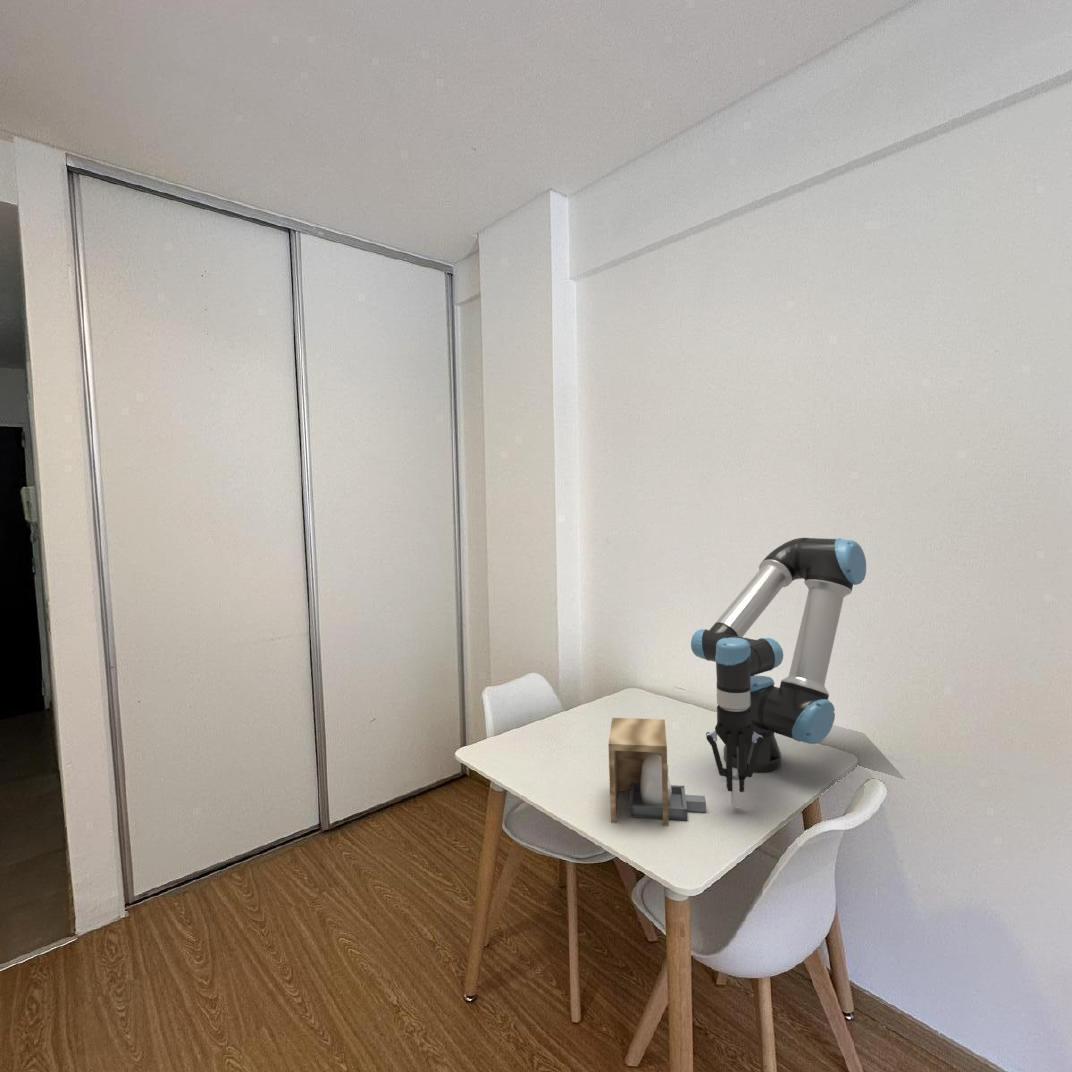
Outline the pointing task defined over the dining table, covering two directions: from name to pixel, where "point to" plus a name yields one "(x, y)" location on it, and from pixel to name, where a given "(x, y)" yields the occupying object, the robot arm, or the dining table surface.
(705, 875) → the dining table surface
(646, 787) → the figurine
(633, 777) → the box
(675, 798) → the tray
